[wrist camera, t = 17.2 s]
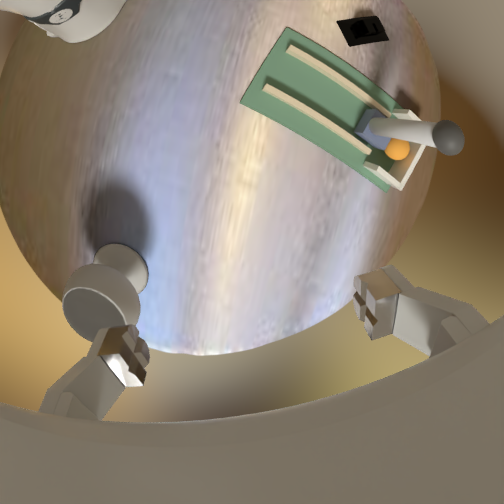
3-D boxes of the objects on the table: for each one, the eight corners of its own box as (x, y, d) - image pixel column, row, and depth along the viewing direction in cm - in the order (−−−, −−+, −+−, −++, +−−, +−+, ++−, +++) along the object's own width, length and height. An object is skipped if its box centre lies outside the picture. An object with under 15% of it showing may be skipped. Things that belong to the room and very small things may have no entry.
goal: (255, 100, 38) (259, 97, 33) (293, 39, 33) (301, 30, 28) (386, 183, 45) (401, 190, 41) (416, 129, 41) (432, 132, 36)
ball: (400, 153, 43) (380, 137, 43) (415, 138, 38) (394, 122, 38) (397, 170, 41) (375, 154, 41) (414, 155, 37) (391, 138, 36)
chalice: (87, 234, 45) (48, 274, 32) (153, 242, 47) (129, 289, 34) (94, 294, 51) (67, 341, 38) (154, 303, 53) (137, 356, 40)
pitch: (239, 103, 38) (239, 102, 38) (286, 28, 32) (286, 27, 32) (385, 192, 47) (386, 192, 46) (420, 126, 41) (422, 127, 40)
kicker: (351, 130, 40) (441, 146, 20) (364, 107, 38) (458, 110, 18) (374, 147, 42) (466, 177, 22) (386, 125, 40) (481, 143, 20)
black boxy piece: (342, 52, 35) (353, 46, 31) (325, 18, 32) (334, 10, 28) (394, 43, 33) (407, 39, 29) (378, 12, 30) (390, 5, 26)
